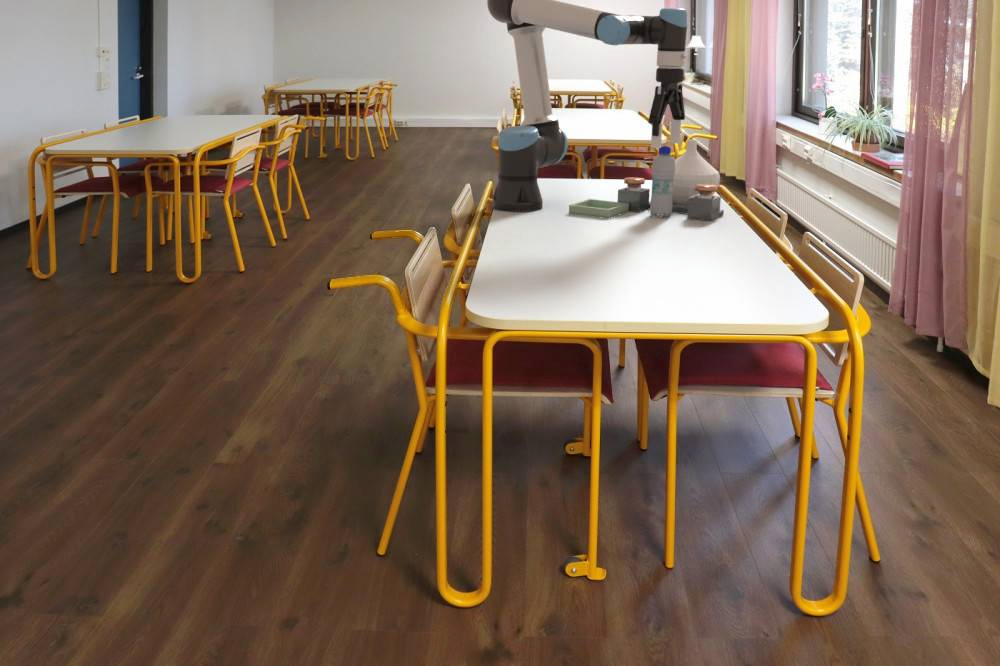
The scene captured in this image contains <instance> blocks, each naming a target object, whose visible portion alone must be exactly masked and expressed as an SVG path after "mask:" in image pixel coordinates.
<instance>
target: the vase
mask: <svg viewBox="0 0 1000 666" xmlns="http://www.w3.org/2000/svg"><path fill="white" fill-rule="evenodd" d="M697 144H698V139H687V142H686V148H685V151H684V152H683V153H682V154H681V155H680V156H679V157H676V159H675V175H674V177H673V193H672V204H674V205H681V206H688V199H689V197H691V196H694V195H696V194H698V191H696V190H695V185H698V184H708V185H715V186H716V190H718V187H719V186H720V179H721V176H720V172H719V171H718V170H717V169H716V168H714V166H712V165H711V164H710V163H709V162H708V161H707V160H705V158H704V157H702V156H701V155H700V153H699V152H698V150H697V146H698V145H697ZM715 193H716V191H715V192H712V196H715Z"/></svg>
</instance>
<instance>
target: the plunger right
mask: <svg viewBox="0 0 1000 666" xmlns="http://www.w3.org/2000/svg"><path fill="white" fill-rule="evenodd" d="M695 190H696V191H698V198H704V199H712V192H715V193H716V191H717V189H716V186H715V185H708V184H698V185H695Z"/></svg>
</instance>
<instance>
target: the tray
mask: <svg viewBox="0 0 1000 666" xmlns="http://www.w3.org/2000/svg"><path fill="white" fill-rule="evenodd" d="M626 212H627V213H628V212H629V203H622V202H618V201H614V200H613V201H611V200H604V199H603V200H602V199H597V198H596V199H595V198H593V199H592V198H587V199H584V200H581V201H578V202H576V203H572V204H569V205H568V214H569V215H576V216H584V217H585V216H586V217H591V216H593V217H594V218H599V217H602V218H601V219H608V218H610V219H612V218H611V217H613V218H615V217H614V216H616V217H618V216H620V215H619V214H621V215H623V213H624V214H627V213H626ZM617 215H618V216H617ZM593 217H592V218H593Z"/></svg>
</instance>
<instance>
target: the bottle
mask: <svg viewBox="0 0 1000 666" xmlns="http://www.w3.org/2000/svg"><path fill="white" fill-rule="evenodd" d="M671 151H672V149H671V147H669V146H668V145H667V146H665V145H661V148H658V155H656V156H655V157H653V160H652V161H653V162H652V166H651V175H652V178H651V179H652V181H651V195H650V202H651V203H650V209H649V212H650V215H651V216H652V217H653V218H656V217H657V216H658V218H659V219H660V218H662V217H664V218H665V219H666V218H668V217H670V216H671V215H672V213H673V212H672V205H673V203H672V193H673V177H674V175H675V160H676V159H675V157H673V156H672V155H671V153H672V152H671Z"/></svg>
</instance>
